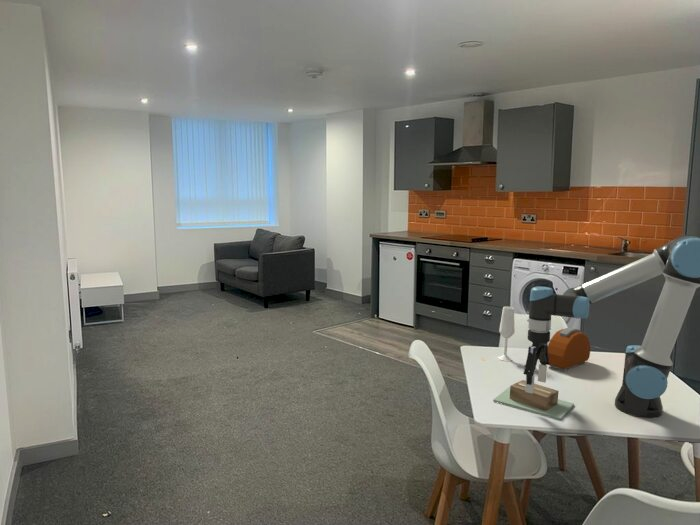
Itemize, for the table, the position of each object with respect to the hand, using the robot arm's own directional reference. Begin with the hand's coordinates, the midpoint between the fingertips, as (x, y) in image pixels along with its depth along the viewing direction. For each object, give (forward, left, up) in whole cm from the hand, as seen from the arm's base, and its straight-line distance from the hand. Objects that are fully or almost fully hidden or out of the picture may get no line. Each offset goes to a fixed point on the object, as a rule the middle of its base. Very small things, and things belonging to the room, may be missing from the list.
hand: (535, 387), depth 193 cm
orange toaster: (+3, -53, -7) cm, 54 cm away
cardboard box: (0, 0, -6) cm, 6 cm away
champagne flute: (+27, -42, -7) cm, 51 cm away
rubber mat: (0, 0, -6) cm, 6 cm away
